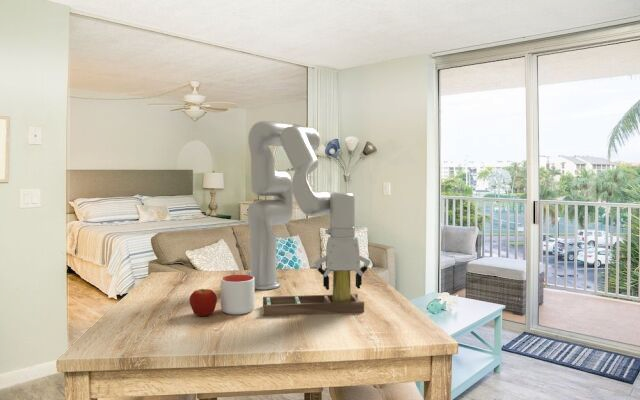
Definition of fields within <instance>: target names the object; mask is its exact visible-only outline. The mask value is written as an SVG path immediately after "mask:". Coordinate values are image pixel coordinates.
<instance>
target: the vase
mask: <svg viewBox="0 0 640 400" xmlns="http://www.w3.org/2000/svg"><path fill="white" fill-rule="evenodd" d="M332 272H333V273H332V275H333V276H332V295H333V300H332V302H351V294H352V293H351V271H332Z"/></svg>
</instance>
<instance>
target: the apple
mask: <svg viewBox="0 0 640 400" xmlns="http://www.w3.org/2000/svg"><path fill="white" fill-rule="evenodd" d="M217 303H218V297H217V294H216V293H215V291H214V290H212V289H205V288H202V289H197V290H194V291H193V292H192V293H191V294H190V296H189V306H190V308H191V310H192V312H193V314H195V315H196V316H199V317H208V316H210V315H211V314H213V313H214V311H215V310H216V306H217Z"/></svg>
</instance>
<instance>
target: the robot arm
mask: <svg viewBox="0 0 640 400" xmlns="http://www.w3.org/2000/svg"><path fill="white" fill-rule="evenodd" d="M247 141H248V149H249V152H250V153H249V154H250V184H251V191H252V193H253V194H254V195H255V196H257V197H272V196H273V199H260V200H255V201H253V202H251V203H250V204H249V206H248V207H247V211H246V214H247V220H248V227H249V244H250V245H249V246H250V251H249V253H250V254H249V255H250V258H249V259H250V262H249V263H250V271H247V272H246V273H244V275H250V276H253V277H254V290H261V291H262V290H263V291H264V290H266V291H267V290H272V289H277V288H279V287H281V284H282V283H281V281H280V280H278V279H277V236H276V233H275V231H274V229H273V227H272V226H279V225H285V224H288V223H289V222H290V221H291V219H292V217H293V212H294V211H293V210H294V209H293V208H294V199H295V202H296V204H297V205H298V207H299V209H300V211H301V212H302V213H303V214H304V215H306V216H308V217H318V216H319V217H320V216H329V228H328V229H325V235H329V236H328V237H327V240H326V241H327V242H326V250H325V256H322V257H321V258H319V259H318V260H315V261H314V266H315V267H316V269H317V271H318V272H319V273H320V274H321V275H322V282H323V285H322V286H323V287H324V288H325V289H326V290H327V291H329V290H330V277H329V274H330V273H331V272H333V271H350V272H351V271H353V272H354V271H355V272H356V273H355V287H356V288H357V289H361V286H362V284H363V283H362V281H363V280H362V278H363V277H362V276H363V275H364V273H365V272H366V271H367V270H368V267H369V266H370V264H371V261H370V259H367V258H366V257H364V256H361V255H360V245H359V239H358V237H357V236H355V234H356V233H355V231H356V227H355V223H356V221H355V219H356V216H355V212H356V210H355V205H356V204H355V200H356V199H355V195H354V194H353V193H350V192H336V191H329V190H328V191H313V190H312V188H311V186H310V184H309V182H308V175H310V174H312V173H313V172H314V171H315V170H316V169H317V167H318V166H319V160H318V158H317V156H316V154H315V151H316V150H318V148H319V147H320V143H321V139H320V135H319V133H318V132H317V130H316V129H314V128H313V127H311V126H310V127H308V126H304V125H299V124H295V123H289V122H283V121H282V122H281V121H273V120H261V121H257V122H256V123H254V124H253V125H252V126H251V128H250V130H249V132H248V138H247ZM269 146H273V147H275V146H276V147H282V148H283V149H284V152H285V154H286V156H287V158H288V160H289V162H290V165H291V166H292V169H293V170H294V174H293V177H291V176H290V174H289V173H288V172H287V171H285V170H280V169H275V168H276V167H275V156H274V153H273V151H272V150H271V148H270V147H269ZM361 262H363V265H362V266H361ZM323 263H325V269H323V268H322V266H321V264H323Z"/></svg>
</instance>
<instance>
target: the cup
mask: <svg viewBox="0 0 640 400" xmlns="http://www.w3.org/2000/svg"><path fill="white" fill-rule="evenodd" d="M255 295H256V294H255V289H254V277H253V276H250V275H245V274H230V275H224V276H222V277H221V278H220V309H221V311H222V312H223V313H225V314H228V315H245V314H248V313H250V312H252V311H253V310H254V309H255V305H256V303H255V302H256V301H255V299H256V298H255V297H256V296H255Z"/></svg>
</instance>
